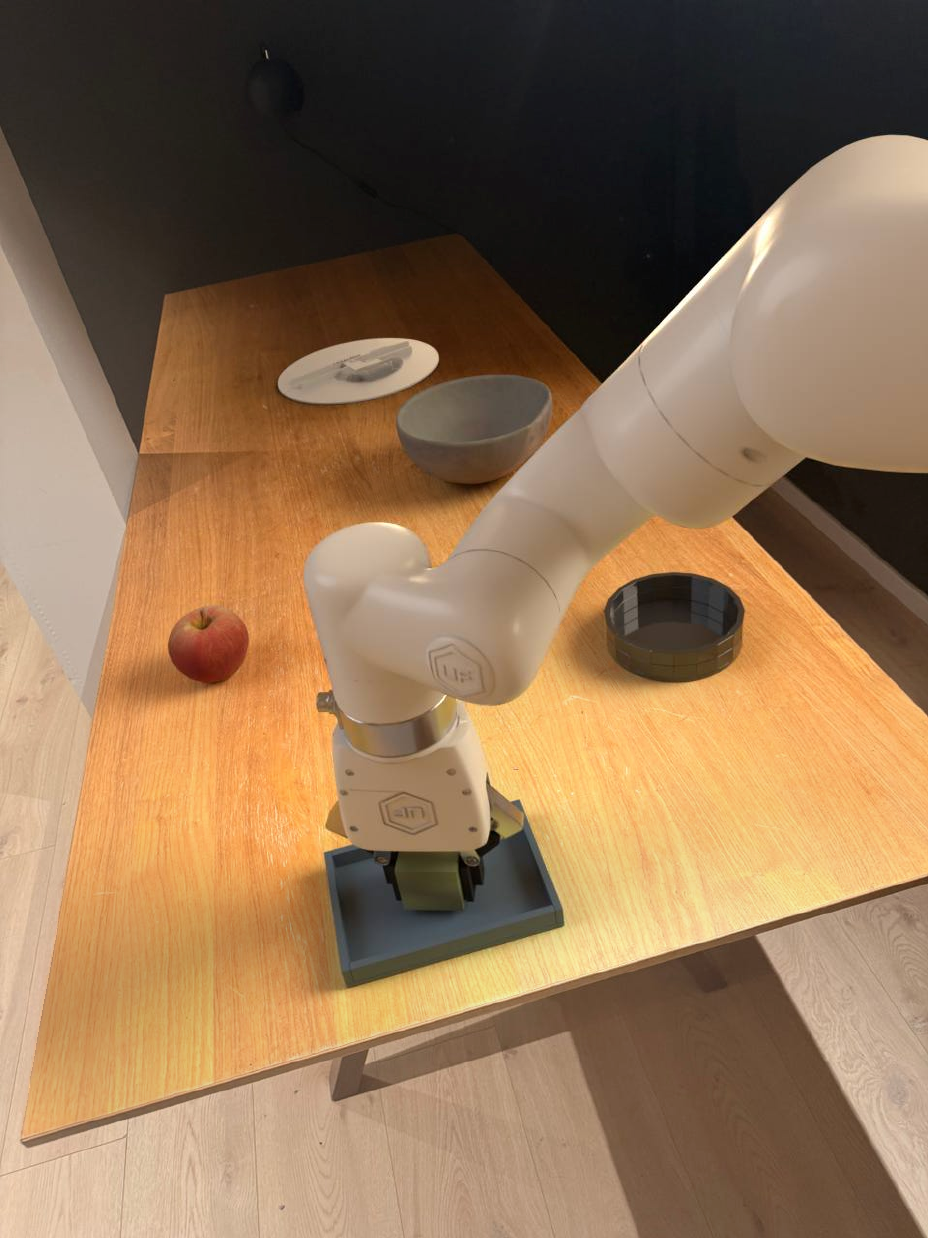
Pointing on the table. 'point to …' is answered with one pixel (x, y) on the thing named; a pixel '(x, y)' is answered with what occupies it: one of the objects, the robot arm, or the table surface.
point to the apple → (208, 644)
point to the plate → (358, 371)
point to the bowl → (475, 426)
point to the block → (430, 880)
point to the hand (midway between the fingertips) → (437, 884)
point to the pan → (674, 626)
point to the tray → (408, 939)
